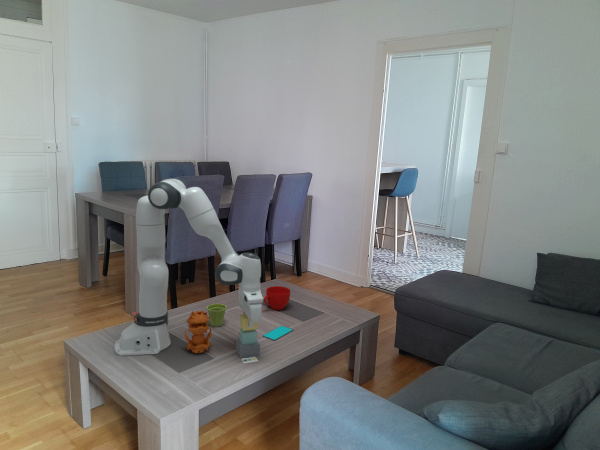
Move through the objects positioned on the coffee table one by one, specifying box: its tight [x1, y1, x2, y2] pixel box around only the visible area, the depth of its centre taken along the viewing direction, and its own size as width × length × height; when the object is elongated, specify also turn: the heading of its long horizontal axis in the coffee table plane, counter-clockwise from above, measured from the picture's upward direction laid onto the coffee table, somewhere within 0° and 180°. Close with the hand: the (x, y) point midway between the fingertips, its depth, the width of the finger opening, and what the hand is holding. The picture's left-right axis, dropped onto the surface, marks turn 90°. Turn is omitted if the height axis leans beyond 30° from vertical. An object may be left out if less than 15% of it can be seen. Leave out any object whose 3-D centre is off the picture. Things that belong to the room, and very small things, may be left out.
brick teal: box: [239, 327, 258, 345], centre depth 184 cm, size 6×5×5 cm
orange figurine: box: [184, 310, 213, 354], centre depth 183 cm, size 11×11×18 cm
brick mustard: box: [239, 313, 258, 331], centre depth 183 cm, size 6×5×5 cm
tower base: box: [235, 337, 261, 359], centre depth 185 cm, size 8×8×5 cm
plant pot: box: [206, 303, 228, 328], centre depth 211 cm, size 9×9×9 cm
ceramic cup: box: [263, 285, 291, 311], centre depth 234 cm, size 13×17×10 cm
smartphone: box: [262, 325, 294, 342], centre depth 205 cm, size 7×1×15 cm
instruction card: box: [241, 356, 259, 364], centre depth 179 cm, size 6×4×1 cm, turn 113°
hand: (248, 323), depth 183 cm, fingers closed on brick mustard, 5 cm apart
